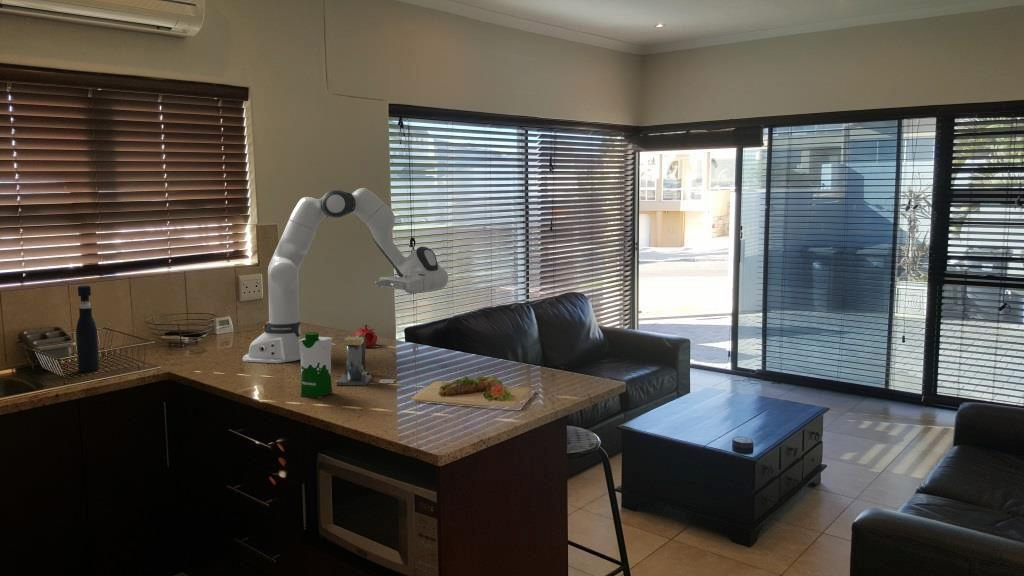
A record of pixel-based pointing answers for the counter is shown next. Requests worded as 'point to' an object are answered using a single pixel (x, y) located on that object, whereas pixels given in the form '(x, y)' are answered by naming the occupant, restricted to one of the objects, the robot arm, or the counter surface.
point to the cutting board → (472, 392)
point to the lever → (357, 341)
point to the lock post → (356, 368)
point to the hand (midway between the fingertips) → (383, 285)
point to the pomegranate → (367, 336)
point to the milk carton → (315, 365)
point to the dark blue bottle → (86, 334)
